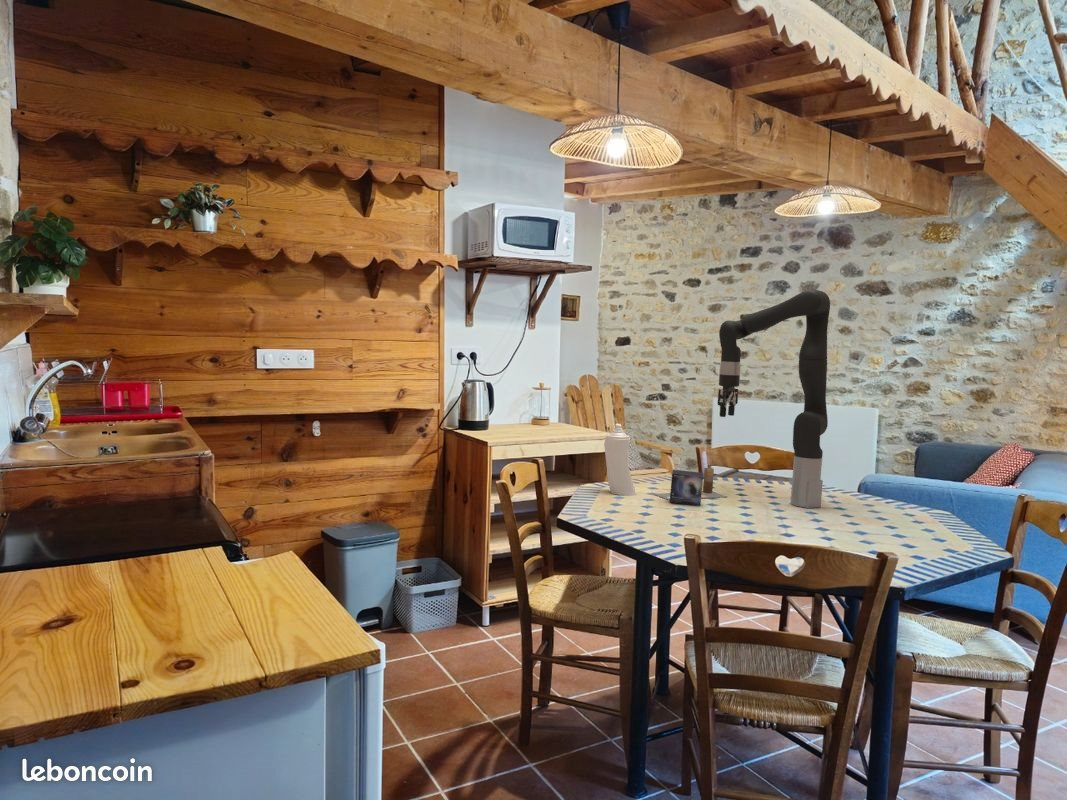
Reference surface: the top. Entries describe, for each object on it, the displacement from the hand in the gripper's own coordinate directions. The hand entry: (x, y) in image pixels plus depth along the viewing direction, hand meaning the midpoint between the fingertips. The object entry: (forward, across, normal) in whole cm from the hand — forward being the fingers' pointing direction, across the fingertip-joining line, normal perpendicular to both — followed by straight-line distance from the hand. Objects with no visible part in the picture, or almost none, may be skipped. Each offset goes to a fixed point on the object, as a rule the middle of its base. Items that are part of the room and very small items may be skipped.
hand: (726, 416), depth 266 cm
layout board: (+28, -22, +3) cm, 36 cm away
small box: (+28, -34, 0) cm, 44 cm away
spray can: (+28, -37, +25) cm, 52 cm away
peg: (+28, -13, +1) cm, 31 cm away
